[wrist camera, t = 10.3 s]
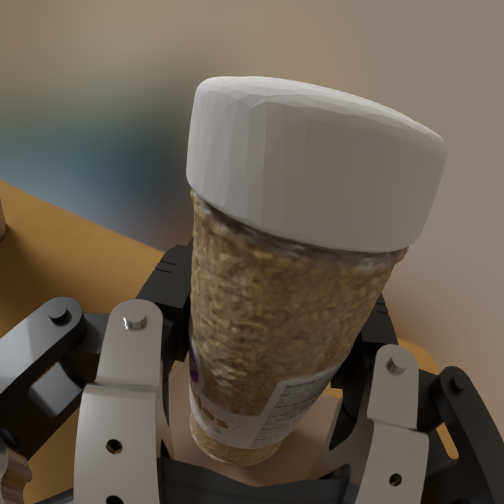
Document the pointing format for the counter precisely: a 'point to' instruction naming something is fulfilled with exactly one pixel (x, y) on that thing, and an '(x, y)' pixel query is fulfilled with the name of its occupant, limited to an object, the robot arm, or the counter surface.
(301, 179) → the sprinkles bottle
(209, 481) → the robot arm
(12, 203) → the counter surface
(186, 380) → the walnut plinth
